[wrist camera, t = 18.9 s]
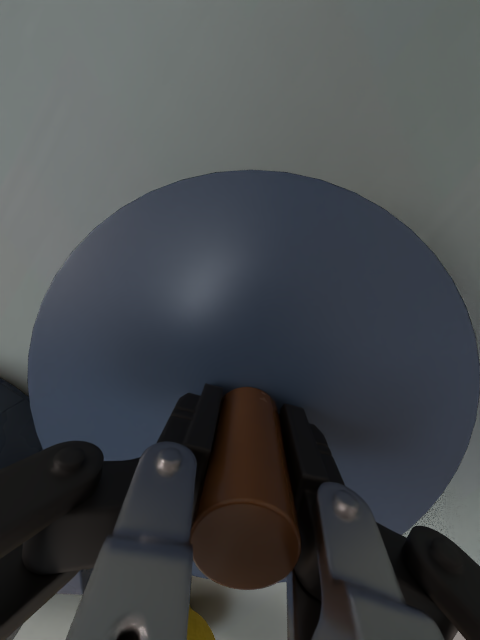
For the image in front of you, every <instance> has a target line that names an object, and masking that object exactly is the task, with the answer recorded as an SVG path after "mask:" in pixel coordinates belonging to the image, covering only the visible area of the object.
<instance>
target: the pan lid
mask: <svg viewBox="0 0 480 640" xmlns="http://www.w3.org/2000/svg"><path fill="white" fill-rule="evenodd" d="M205 383H207V384H210V385H214V386H218V387H222V388H223V393H222V398H221V403H220V408H219V413H218V418H217V423H216V428H215V433H214V438H213V443H212V448H211V452H210V456H209V460H208V463H207V467H206V471H205V474H204V478H203V480H202V482H201V484H200V487H199V491H198V495H197V500H196V504H195V509H194V513H193V517H192V522H191V531H190V543H191V544H193V565H192V575H193V576H196V577H201V578H206V579H211V580H212V581H214V582H216V583H218V584H220V585H223V586H226V587H229V588H234V589H240V590H254V589H261V588H265V587H269V586H271V585H274V584H276V583H280V582H287V576H288V575H289V574H290V573H291V572H292V571H293V569H294V568H295V567H296V565H297V563H298V561H299V558H300V554H301V548H302V540H301V534H300V529H299V523H298V518H297V512H296V507H295V502H294V496H293V491H292V485H291V480H290V475H289V469H288V464H287V458H286V453H285V448H284V442H283V437H282V431H281V426H280V420H279V413H280V410H281V407H282V405H283V404H284V403H285V404H289V405H293V406H297V407H300V408H303V409H304V411H305V414H306V417H307V419H308V422H309V423H310V424H314V425H315V426H316V427H317V428H318V429H319V430H320V431H321V432H322V433H323V435H324V437H325V439H326V441H327V444H328V447H329V448H330V451H331V453H332V456H333V458H334V460H335V463H336V465H337V467H338V470H339V472H340V474H341V477H342V479H343V481H344V484H345V486H346V487H348V488H350V489H352V490H353V491H354V492H356V493H357V494H358V495H359V496H360V497H361V498H362V499H363V500H364V501H365V502H366V503H367V505H368V506H369V508H370V509H371V511H372V513H373V516H374V518H375V521H376V522H377V523H379V524H381V525H383V526H385V527H387V528H388V529H390V530H392V531H394V532H396V533H398V534H400V535H402V534H403V533H405V532H406V531H408V530H409V529H410V528H411V527H412V526H413V525H414V524H415V523H416V522H417V521H418V520H419V519H420V518H421V517H422V516H423V515H424V514H426V513H427V511H428V510H429V509H430V508H431V506H432V505H433V504H434V503H435V502H436V500H437V499H438V498H439V497H440V496H441V494H442V493H443V492H444V490H445V489H446V487H447V485H448V484H449V482H450V481H451V479H452V478H453V476H454V474H455V473H456V471H457V469H458V467H459V465H460V463H461V460H462V458H463V456H464V454H465V452H466V450H467V447H468V445H469V441H470V438H471V435H472V431H473V428H474V424H475V421H476V415H477V408H478V402H479V395H480V363H479V357H478V350H477V344H476V337H475V333H474V330H473V327H472V324H471V321H470V318H469V314H468V311H467V308H466V306H465V304H464V302H463V300H462V298H461V296H460V294H459V292H458V290H457V288H456V286H455V284H454V282H453V280H452V278H451V277H450V275H449V274H448V272H447V271H446V270H445V268H444V267H443V265H442V264H441V262H440V261H439V260H438V258H437V257H436V255H435V254H434V253H433V252H432V251H431V250H430V249H429V248H428V247H427V245H426V244H425V243H424V242H423V241H422V240H421V239H420V238H419V237H418V236H417V235H416V234H415V233H414V232H413V231H412V230H411V229H410V228H409V227H407V226H406V225H405V224H403V223H402V222H401V221H399V220H398V219H397V218H395V217H394V216H393V215H392V214H390V213H389V212H388V211H386V210H385V209H384V208H382V207H380V206H378V205H376V204H375V203H373V202H371V201H369V200H367V199H366V198H364V197H362V196H360V195H358V194H356V193H355V192H352V191H350V190H347V189H344V188H342V187H339V186H336V185H334V184H331V183H328V182H326V181H323V180H320V179H315V178H311V177H306V176H302V175H297V174H292V173H288V172H277V171H262V170H240V171H227V172H215V173H210V174H206V175H201V176H197V177H192V178H188V179H183V180H180V181H177V182H175V183H172V184H169V185H167V186H164V187H161V188H159V189H156V190H154V191H151V192H149V193H147V194H145V195H143V196H142V197H140V198H138V199H136V200H134V201H133V202H131V203H129V204H127V205H125V206H124V207H122V208H120V209H119V210H118V211H116V212H115V213H114V214H112V215H111V216H110V217H108V218H107V219H106V220H105V221H103V222H102V223H101V224H99V225H98V226H97V227H95V228H94V229H93V230H92V231H91V232H90V233H89V235H88V236H87V237H86V238H85V239H84V240H83V241H82V242H81V243H80V244H79V245H78V246H77V247H76V248H75V249H74V250H73V251H72V253H71V254H70V255H69V257H68V258H67V260H66V261H65V263H64V264H63V265H62V267H61V268H60V270H59V271H58V272H57V274H56V275H55V277H54V279H53V281H52V283H51V285H50V287H49V289H48V291H47V293H46V295H45V297H44V299H43V301H42V303H41V306H40V309H39V312H38V315H37V318H36V321H35V324H34V327H33V332H32V338H31V344H30V349H29V355H28V391H29V400H30V409H31V413H32V417H33V421H34V425H35V429H36V433H37V435H38V438H39V441H40V443H41V446H42V448H43V450H44V449H46V448H48V447H51V446H53V445H56V444H59V443H62V442H67V441H86V442H90V443H92V444H94V445H96V446H97V447H99V448H100V449H101V451H102V453H103V456H104V461H123V460H131V459H135V458H139V457H141V455H142V453H143V452H144V451H145V450H146V449H147V448H148V447H150V446H151V445H153V444H156V443H157V441H158V439H159V437H160V435H161V433H162V431H163V429H164V427H165V425H166V423H167V421H168V419H169V417H170V416H171V413H172V411H173V409H174V408H175V405H176V403H177V401H178V400H179V398H180V397H182V396H183V395H185V394H187V393H192V394H196V395H200V396H201V394H202V391H203V388H204V386H205Z"/></svg>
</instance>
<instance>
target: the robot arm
mask: <svg viewBox="0 0 480 640" xmlns="http://www.w3.org/2000/svg"><path fill="white" fill-rule="evenodd" d="M222 393H223V388H222V387H218V386H214V385H210V384H207V383H205V386H204V388H203V391H202V394H201V396H200V395H196V394H192V393H187V394H185V395H183V396H182V397H180V398H179V400H178V401H177V403H176V405H175V408H174V409H173V411H172V413H171V416H170V417H169V419H168V421H167V423H166V425H165V427H164V429H163V431H162V433H161V435H160V437H159V439H158V441H157V443H156V444H153V445H151V446H150V447H148V448H147V449H146V450H145V451H144V452H143V453H142V455H141V457H139V458H135V459H131V460H123V461H104V456H103V453H102V451H101V449H100V448H99V447H97V446H96V445H94V444H92V443H90V442H86V441H67V442H62V443H59V444H56V445H53V446H51V447H48V448H46V449H44V450H42V451H40V452H37V453H35V454H33V455H31V456H29V457H26V458H24V459H22V460H20V461H18V462H15V463H13V464H11V465H9V466H7V467H4V468H2V469H0V640H6V639H7V638H8V637H9V636H10V635H11V634H12V633H13V632H14V631H15V630H16V629H18V628H19V627H20V626H21V625H22V624H23V623H24V622H25V621H26V620H27V619H29V618H30V617H31V616H32V615H33V614H34V613H35V612H36V611H37V610H38V609H39V608H41V607H42V606H43V605H44V604H45V603H46V602H47V601H48V600H49V599H50V598H52V597H53V596H54V595H55V594H56V593H57V592H58V591H59V590H60V589H61V588H63V587H64V586H65V585H66V584H67V583H68V582H69V581H70V580H71V579H72V578H73V577H74V576H75V575H76V574H77V573H78V572H79V571H80V570H83V569H90V568H93V571H92V573H91V576H90V578H89V581H88V583H87V586H86V588H85V591H84V594H83V596H82V599H81V601H80V604H79V606H78V609H77V612H76V614H75V617H74V619H73V622H72V624H71V627H70V630H69V632H68V635H67V637H66V640H187V629H188V616H189V603H190V590H191V578H192V565H193V544H191V543H190V531H191V522H192V517H193V513H194V509H195V504H196V500H197V495H198V491H199V487H200V484H201V482H202V480H203V478H204V474H205V471H206V467H207V463H208V460H209V456H210V452H211V448H212V443H213V438H214V433H215V428H216V423H217V418H218V413H219V408H220V403H221V398H222ZM279 420H280V426H281V431H282V437H283V442H284V448H285V453H286V458H287V464H288V469H289V475H290V480H291V485H292V491H293V496H294V502H295V507H296V512H297V518H298V523H299V529H300V534H301V540H302V548H301V554H300V558H299V561H298V563H297V565H296V567H295V568H294V569H293V571H292V572H291V573H290V574H289V575H288V576H287V640H453V638H454V637H455V635H456V633H457V632H458V631H459V632H460V633H461V634H462V636H463V637H464V638H465V639H466V640H480V566H479V565H478V564H477V563H476V562H475V561H473V560H472V559H471V558H470V557H469V556H468V555H467V554H466V553H465V552H464V551H463V550H462V549H461V548H460V547H458V546H457V545H456V544H455V543H454V542H452V541H451V540H450V539H449V538H447V537H446V536H444V535H443V534H441V533H439V532H437V531H435V530H433V529H431V528H428V527H425V526H415V527H413V528H412V530H411V532H410V533H409V535H408V537H407V538H406V537H404V536H402V535H400V534H398V533H396V532H394V531H392V530H390V529H388V528H387V527H385V526H383V525H381V524H379V523H377V522H376V521H375V518H374V516H373V513H372V511H371V509H370V508H369V506H368V505H367V503H366V502H365V501H364V500H363V499H362V498H361V497H360V496H359V495H358V494H357V493H356V492H354V491H353V490H352V489H350V488H348V487H346V486H345V484H344V481H343V479H342V477H341V474H340V472H339V470H338V467H337V465H336V463H335V460H334V458H333V456H332V453H331V451H330V448H329V447H328V444H327V441H326V439H325V437H324V435H323V433H322V432H321V431H320V430H319V429H318V428H317V427H316V426H315V425H314V424H310V423H309V422H308V419H307V417H306V414H305V411H304V409H303V408H300V407H297V406H293V405H289V404H285V403H284V404H283V405H282V407H281V410H280V413H279Z"/></svg>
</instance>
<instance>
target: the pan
mask: <svg viewBox="0 0 480 640" xmlns="http://www.w3.org/2000/svg"><path fill="white" fill-rule="evenodd" d="M42 450H43V448H42V446H41V443H40V441H39V438H38V435H37V433H36V429H35V425H34V421H33V417H32V413H31V409H30V400H29V397H28V396H26V395H25V394H24V393H22V392H21V391H20V390H18V389H17V388H16V387H14V386H13V385H11V384H10V383H8V382H6V381H5V380H3V379H1V378H0V469H2V468H4V467H7V466H9V465H11V464H13V463H15V462H18V461H20V460H22V459H24V458H26V457H29V456H31V455H33V454H35V453H37V452H40V451H42ZM92 571H93V568H90V569H83V570H80V571H79V572H78V573H77V574H76V575H75V576H74V577H73V578H72V579H71V580H70V581H69V582H68V583H67V584H66V585H65V586H64V587H63V588H61V589H60V590H59V591H58V592H57V593H56V594H78V595H83V594H84V591H85V588H86V586H87V583H88V581H89V578H90V576H91V573H92ZM22 625H23V624H22ZM22 625H21V626H22ZM21 626H20V627H19V628H18V629H16V630H15V631H14V632H13V633H12V634H11V635H10V636H9V637H8V638H7V639H6V640H13V639H14V637H15V636H16V634H17V632H18V631H19V629H20V628H21Z"/></svg>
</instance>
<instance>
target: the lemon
mask: <svg viewBox="0 0 480 640" xmlns="http://www.w3.org/2000/svg"><path fill="white" fill-rule="evenodd" d="M187 640H215V638H214V635H213V633H212V631H211V629H210V627H209V626H208V624H207V623H206V621H205V620H204V619H203V618H202V617H201V616H200V615H199V614H198V613H197V612H195V611H193V610H192V609H191V607H190V605H189V616H188V629H187Z"/></svg>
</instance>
